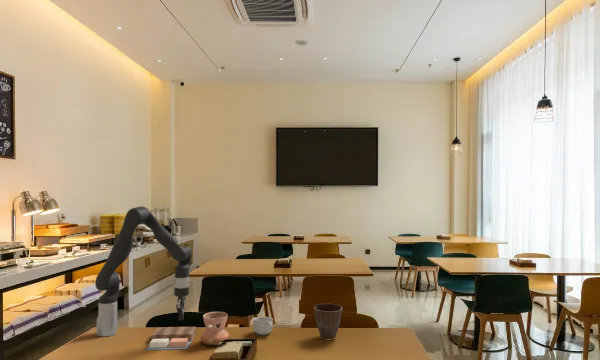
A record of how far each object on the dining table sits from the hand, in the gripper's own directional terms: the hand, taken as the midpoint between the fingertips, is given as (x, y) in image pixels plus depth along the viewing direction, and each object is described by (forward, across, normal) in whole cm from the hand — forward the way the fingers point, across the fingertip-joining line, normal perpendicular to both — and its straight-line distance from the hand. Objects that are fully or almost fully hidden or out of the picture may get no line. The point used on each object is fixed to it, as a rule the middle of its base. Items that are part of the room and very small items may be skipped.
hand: (181, 319), depth 206 cm
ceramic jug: (+12, 0, +18) cm, 21 cm away
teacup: (+12, -11, +42) cm, 45 cm away
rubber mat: (+12, +4, -5) cm, 13 cm away
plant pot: (+11, -2, +76) cm, 77 cm away
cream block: (+9, +4, -9) cm, 14 cm away
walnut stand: (+12, -7, -5) cm, 15 cm away
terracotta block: (+9, +4, 0) cm, 10 cm away
